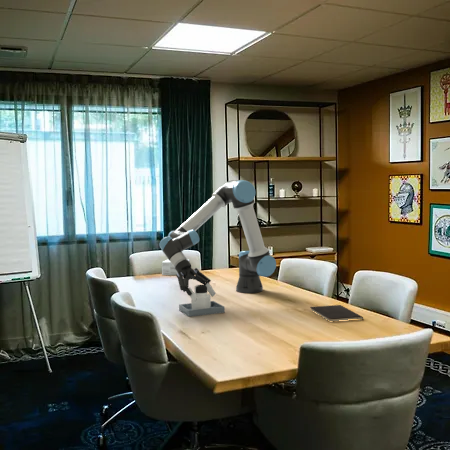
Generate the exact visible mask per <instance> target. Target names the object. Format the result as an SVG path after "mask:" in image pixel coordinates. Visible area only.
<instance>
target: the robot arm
mask: <svg viewBox="0 0 450 450" xmlns="http://www.w3.org/2000/svg"><path fill="white" fill-rule="evenodd" d="M255 196H256V189H255V186H254V185H253V183H251V182H250V181H248V180H245V179H244V180H243V179H239V180H237V179H235V180H229V181H225V183H223V184H222V185H220V187H218V189H216V190H215V191H214V192H213V193H212V194H211V197H210V198H209V199H208V200H207V201H206V202H205V203H203V204H202V206H201V207H200V208H198V209H197V210H196V211H195V212H193V214H192V215H191V216H190V217H188V219H186V221H184V222H183V223H182V224H181V225H180V226H179V227H178V228H176V229H173V230H171V231H170V232H169V233H168V235H167V236H165V237H163V238H162V239H161V240H160V241H159V243H158V244H159V245H158V246H159V248H160V249H161V251H162V253H163V254H164V255H165V257H166V258H167V260H169V261H170V262H171V263H172V265H173V266H174V267H175V269H176V271H177V272H178V273H177V274H176V275H175V276H176V278H177V280H178V286H179V290H180V291H183V292H184V293H185V292H186V293H187V295H188V297H189V298H190V299H192V300H193V302H195V301H196V300H197V299H198V298H197V296H196V295H195V291H194V290H193V289H192V288H191V287H189V280H193V281H194V280H195V281H197V282H199V283H200V284H201V285H206V286H207V293H208V294H210V297H214V296H215V295H216V294H217V293H216V291H215V289H214V288H213V286H212V285H211V284H210V283H211V281H212V280H211V279H210V278H209V277H208V276H206V275H205V274H204V273H202V272H201V271H200V270H199V269H198V268H197V267H195V268H194V269H193V268H192V263H191V261H190V262H189V261H188V260H189V259H188V258H187V257H186V255H185V254H184V253H183V251H185V250H187V249H189V248H191V247H193V246H195V245H196V244H198V243H199V242H200V236H199V234H198V232H197V230H198V229H199V228H201V227H202V226H203V225H204V224H205V223H206V222H207V221H208V220H209V219H210V218H212V217H213V216H214V215H215V214H216V212H218V211H219V210H220V209H221V208H225V207H226V206H227V205H228V204H231V203H232V206H233V209H235V210H236V211H237V213H238V217H239V220H240V224H241V226H242V230H243V232H244V236H245V240H246V243H247V247H248V250H242V251H239V253H238V268H239V269H238V275H239V276H238V280H237V283H236V286H235V287H236V292H237V293H238V292H239V293H244V294H255V293H256V294H257V293H260V292H262V291H264V287H263V284H262V280H261V277H263V278H264V277H267V278H268V277H270V276H272V275H273V273H275V270H276V268H277V262H276V261H277V260H276V259H275V258H274V256H272V255H271V253H270V250H269V248H268V247H266V246H265V243H264V239H263V236H262V233H261V232H262V231H261V228H260V226H259V222H258V218H257V214H256V212H255V209H254V206H255V205H254V204H255V203H256V201H255Z"/></svg>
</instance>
